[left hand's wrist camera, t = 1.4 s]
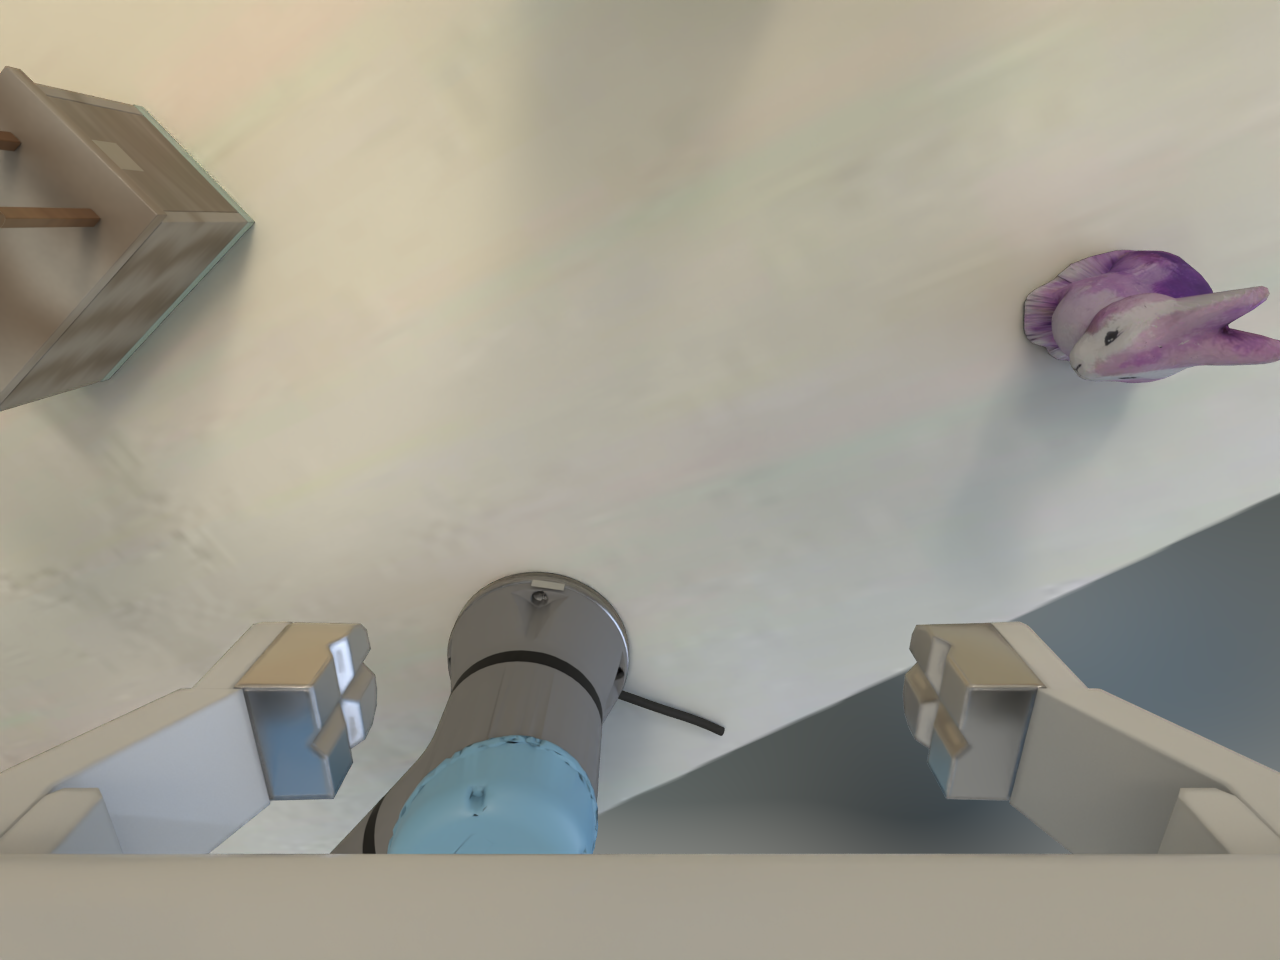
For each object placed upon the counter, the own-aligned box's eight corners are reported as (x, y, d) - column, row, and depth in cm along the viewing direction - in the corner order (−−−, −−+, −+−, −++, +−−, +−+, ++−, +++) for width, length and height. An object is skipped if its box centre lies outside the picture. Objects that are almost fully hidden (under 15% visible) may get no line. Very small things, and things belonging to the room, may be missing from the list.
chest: (142, 106, 46) (14, 77, 36) (254, 222, 48) (162, 222, 39) (-3, 280, 50) (-152, 294, 40) (108, 379, 52) (-8, 414, 43)
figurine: (986, 334, 51) (1119, 378, 37) (1094, 212, 48) (1283, 210, 34) (1075, 407, 53) (1233, 476, 39) (1184, 295, 50) (1397, 324, 36)
